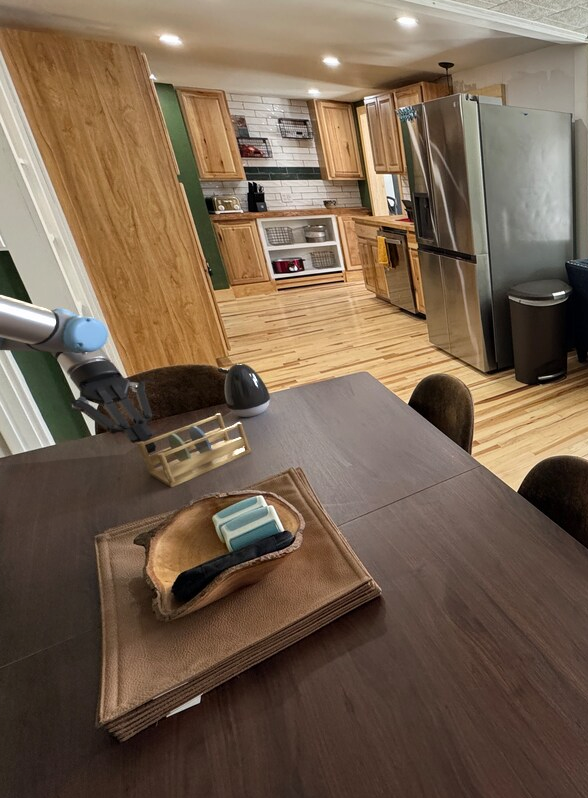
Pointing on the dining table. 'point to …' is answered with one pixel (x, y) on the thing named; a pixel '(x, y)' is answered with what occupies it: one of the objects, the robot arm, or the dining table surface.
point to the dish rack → (199, 460)
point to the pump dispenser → (245, 391)
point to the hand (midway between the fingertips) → (151, 450)
